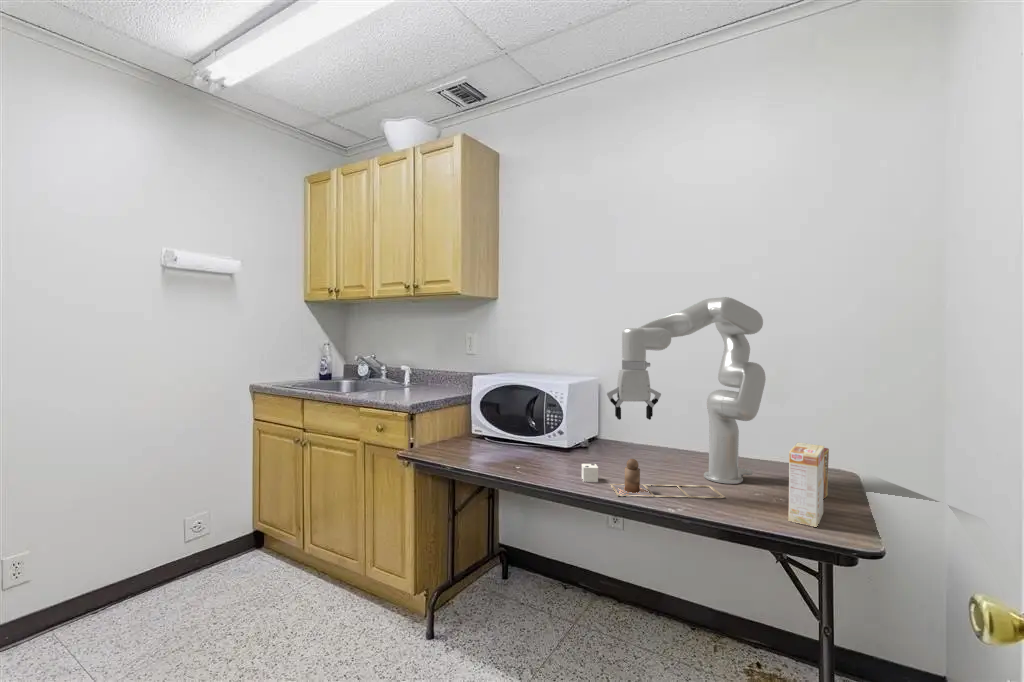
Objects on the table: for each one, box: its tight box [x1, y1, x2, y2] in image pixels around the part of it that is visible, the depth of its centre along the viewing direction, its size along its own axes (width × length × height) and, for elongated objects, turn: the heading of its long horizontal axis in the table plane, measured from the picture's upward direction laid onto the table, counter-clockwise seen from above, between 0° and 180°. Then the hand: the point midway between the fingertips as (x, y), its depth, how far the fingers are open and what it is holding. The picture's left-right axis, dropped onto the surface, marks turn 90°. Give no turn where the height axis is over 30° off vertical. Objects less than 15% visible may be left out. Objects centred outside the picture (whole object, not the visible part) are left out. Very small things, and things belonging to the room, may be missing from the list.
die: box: [581, 463, 599, 483], centre depth 163 cm, size 5×5×5 cm
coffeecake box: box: [787, 442, 825, 528], centre depth 131 cm, size 15×7×20 cm, turn 141°
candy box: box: [823, 447, 830, 500], centre depth 148 cm, size 9×4×15 cm, turn 137°
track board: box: [609, 483, 727, 499], centre depth 152 cm, size 34×12×1 cm, turn 89°
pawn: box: [624, 458, 641, 493], centre depth 152 cm, size 5×5×10 cm
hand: (633, 418), depth 152 cm, fingers open, 9 cm apart
